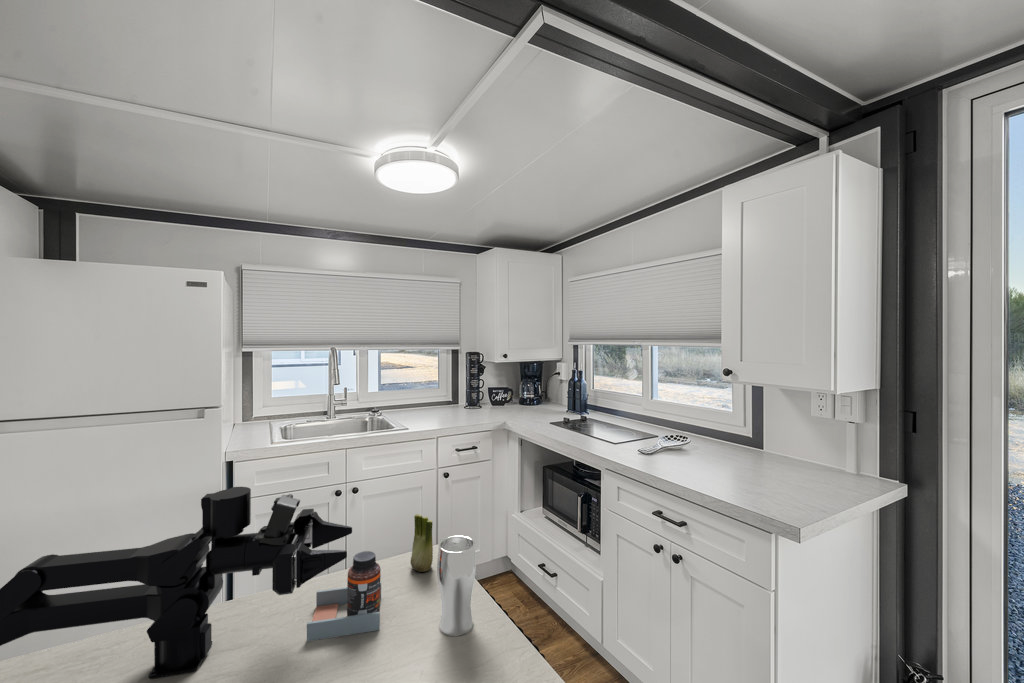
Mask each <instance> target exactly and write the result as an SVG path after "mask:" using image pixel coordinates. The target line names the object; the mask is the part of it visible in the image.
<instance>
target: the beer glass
mask: <svg viewBox="0 0 1024 683" xmlns="http://www.w3.org/2000/svg"><path fill="white" fill-rule="evenodd" d="M476 558H477V557H476V542H475V540H474V539H473V538H471V537H469V536H466V535H465V536H464V535H451V536H448V537H445V538H443V539H442V540H440V542H439V543H438V553H437V565H436V566H437V567H436V568H437V581H438V583H437V584H438V588H439V589H438V590H439V594H440V601H441V615H440V619H439V620H440V621H439V630H440V631H441V633H442V634H444V635H447V636H449V637H458V636H462V635H465V634H467V633H468V632H469V631H470V630H472V628H473V624H474V621H473V615H472V596H473V591H474V585H475V582H476V580H475V578H476V572H477V571H476V566H477V563H476V562H477V559H476Z"/></svg>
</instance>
